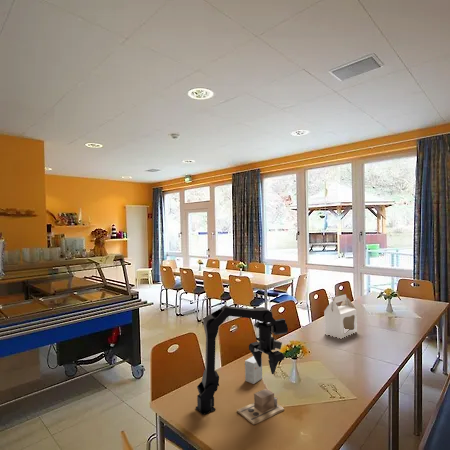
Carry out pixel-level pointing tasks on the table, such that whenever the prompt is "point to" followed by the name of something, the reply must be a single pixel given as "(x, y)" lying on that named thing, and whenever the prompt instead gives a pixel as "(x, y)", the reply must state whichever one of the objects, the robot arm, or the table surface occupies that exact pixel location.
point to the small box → (252, 370)
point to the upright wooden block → (264, 400)
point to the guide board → (256, 415)
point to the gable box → (340, 317)
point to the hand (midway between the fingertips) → (266, 370)
